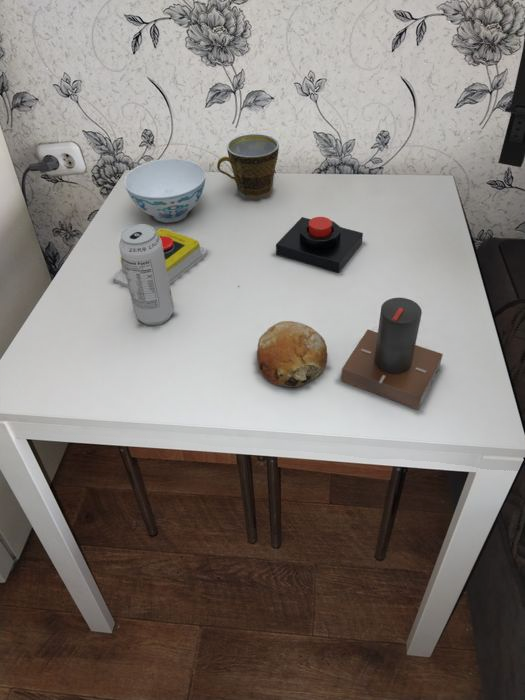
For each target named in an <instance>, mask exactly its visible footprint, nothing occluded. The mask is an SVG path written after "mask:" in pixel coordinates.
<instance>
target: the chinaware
mask: <svg viewBox="0 0 525 700" xmlns="http://www.w3.org/2000/svg"><path fill="white" fill-rule="evenodd" d="M123 184H124V187H125V189H126V191H127V192H126V193H128V196H129V198H130V199H131V201H132V202H133V203H134V204H135V206H137V208H139V209H140V210H141V211H143V212H144V213H145V214H147V215H150V216H151V217H153V218H154V219H155V221H159V222H161V223H176V222H179V221H181V220H183V219H185V218H186V217H187V216H188V213H189V212H190V211H191V210H192V209H193V208H195V206H196V205H197V204H198V202H199V201H200V199H201V197H202V195H203V192H204V190H205V189H204V188H205V184H206V171H205V168H204V167H202V165H201V164H198V163H197V162H195V161H192V160H189V159H183V158H160V159H154V160H151V161H147V162H144V163H142V164H139V165H138V166H135V167H134V168H132V169H131V170H130V171H128V173H127V174H126V175H125V177H124V180H123Z"/></svg>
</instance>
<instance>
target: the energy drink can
mask: <svg viewBox="0 0 525 700" xmlns="http://www.w3.org/2000/svg"><path fill="white" fill-rule="evenodd" d="M156 232H157V231H156V229H155V228H154V227H153V226H152V225H150V224H147V223H146V224H145V223H138V224H132V225H130V226H127V227H126V228H124V229H123V230H122V231H121V233H120V241H119V243H118V249H119V253H120V259H121V258H122V262H123V266H124V270H125V274H126V278H127V282H128V286H129V288H128V290H129V294H130V298H131V301H132V302H131V303H132V307H133V311H134V314H135V317H136V319H138V320H139V321H140V322H141V323H143V324H144V325H147V326H160V325H162V324H164V323H166V322H167V321H168V320H169V319H170V318H171V316H172V314H173V313H174V309H175V308H174V301H173V296H172V290H171V284H169V279H168V273H167V268H166V262H165V257H164V251H163V246H162V240H161V238H160V237H159V236H158V234H157V233H156Z"/></svg>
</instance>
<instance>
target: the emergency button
mask: <svg viewBox="0 0 525 700" xmlns="http://www.w3.org/2000/svg"><path fill="white" fill-rule="evenodd" d="M156 233H157V234H158V236H159V237H160V238H161V240H162V246H163V251H164V257H165V262H166V268H167V273H168V279H169V284H170V285H172V284H173V283H174V282H176V281H177V280H178V279H179V278H181V277H182V276H183V275H184V274H185V273H187V272H188V271H189V270H190V269H192V268H193V267H194V266H196V264H198V263H199V262H201V260H202V259H204V258H205V257H206V256H207V255H208V252H207V249H206V248H205V247H202V246H201V245H200V241H198V240H197V239H194V238H191V237H189V236H186V235H183V234H180V233H178V232H175V231H173V230H170V229H167V228H160V229H158V230H157V231H156ZM120 264H121V269H120V270H119V271H118V272H116V273H115V274H114V275H113V281H114V282H115V283H116V284H119V285H121V286H123V287H126V288H128V289H129V286H128V282H127V278H126V274H125V270H124V266H123V262H122V258H121V257H120Z"/></svg>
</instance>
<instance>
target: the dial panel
mask: <svg viewBox="0 0 525 700" xmlns="http://www.w3.org/2000/svg"><path fill="white" fill-rule="evenodd" d="M377 335H378V331H374V330H371V329H366V331H365V333H364V334H363V336H362V337H361V338H360V341H359V342H358V343H357V345H356V347H355V348H354V350H353V351H352V352H351V354H350V355H349V357H348V359H347V361H346V362H345V364H344V365H343V366H342V368H341V377H340V378H341V379H340V381H341V382H342V383H345V384H347V385H350V386H353V387H355V388H358V389H361V390H363V391H367V392H369V393H372V394H373V395H377V396H380V397H382V398H385V399H388V400H390V401H392V402H396V403H398V404H402V405H404V406H407V407H409V408H412V409H415V410H417V411H419V410H420V408H421V406H422V403H423V401H424V400H425V397H426V396H427V393H428V391H429V390H430V388H431V386H432V384H433V382H434V379H435V378H436V375H437V373H438V371H439V369H440V367H441V362H442V358H443V353H442V352H439V351H435V350H432V349H429V348H426V347H423V346H420V345H415V350H414V355H413V360H412V365H411V367H410V368H409V369H408V370H407V371H406V372H403V373H400V374H390V373H387V372H384V371H382V370H381V369H379V368H378V367H377V366H376V364H375V361H374V357H375V350H376V342H377Z"/></svg>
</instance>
